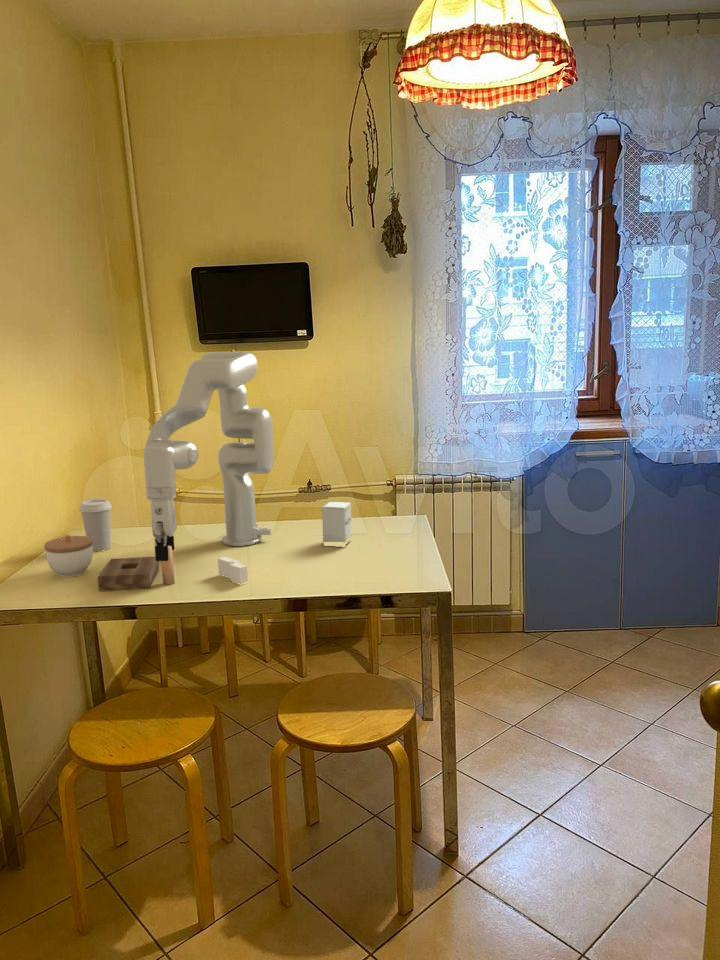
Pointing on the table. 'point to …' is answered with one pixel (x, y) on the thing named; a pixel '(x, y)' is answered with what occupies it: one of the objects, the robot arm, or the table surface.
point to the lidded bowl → (69, 555)
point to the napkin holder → (233, 569)
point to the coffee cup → (97, 522)
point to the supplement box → (336, 521)
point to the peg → (168, 569)
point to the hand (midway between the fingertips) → (165, 555)
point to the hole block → (128, 574)
